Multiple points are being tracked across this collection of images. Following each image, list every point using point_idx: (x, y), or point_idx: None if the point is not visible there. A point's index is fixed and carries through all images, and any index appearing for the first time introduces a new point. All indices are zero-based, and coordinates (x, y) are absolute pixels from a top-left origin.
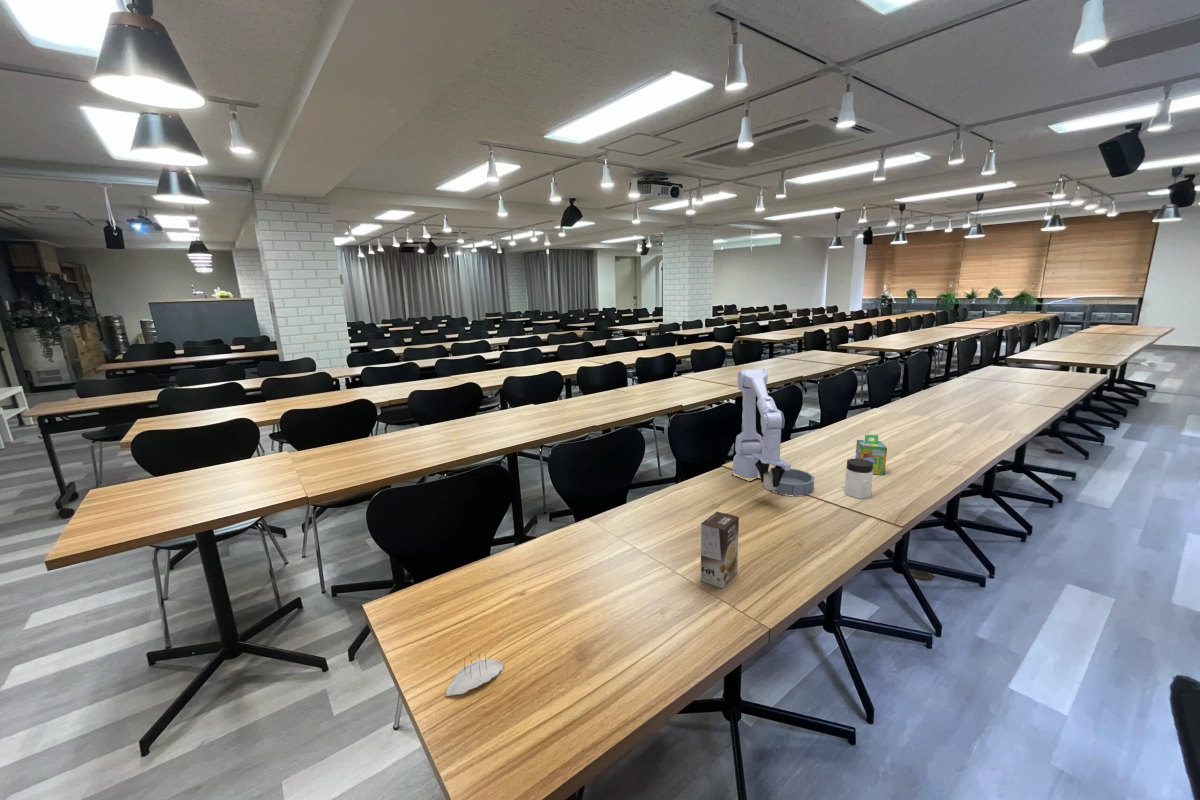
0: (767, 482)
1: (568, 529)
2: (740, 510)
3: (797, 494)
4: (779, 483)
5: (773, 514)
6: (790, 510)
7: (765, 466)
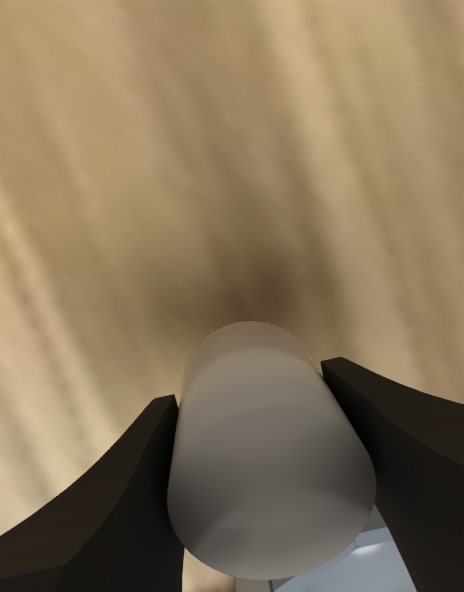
0: (220, 369)
1: None
2: (219, 24)
3: None
4: None
5: (62, 234)
6: (83, 380)
7: (442, 583)
